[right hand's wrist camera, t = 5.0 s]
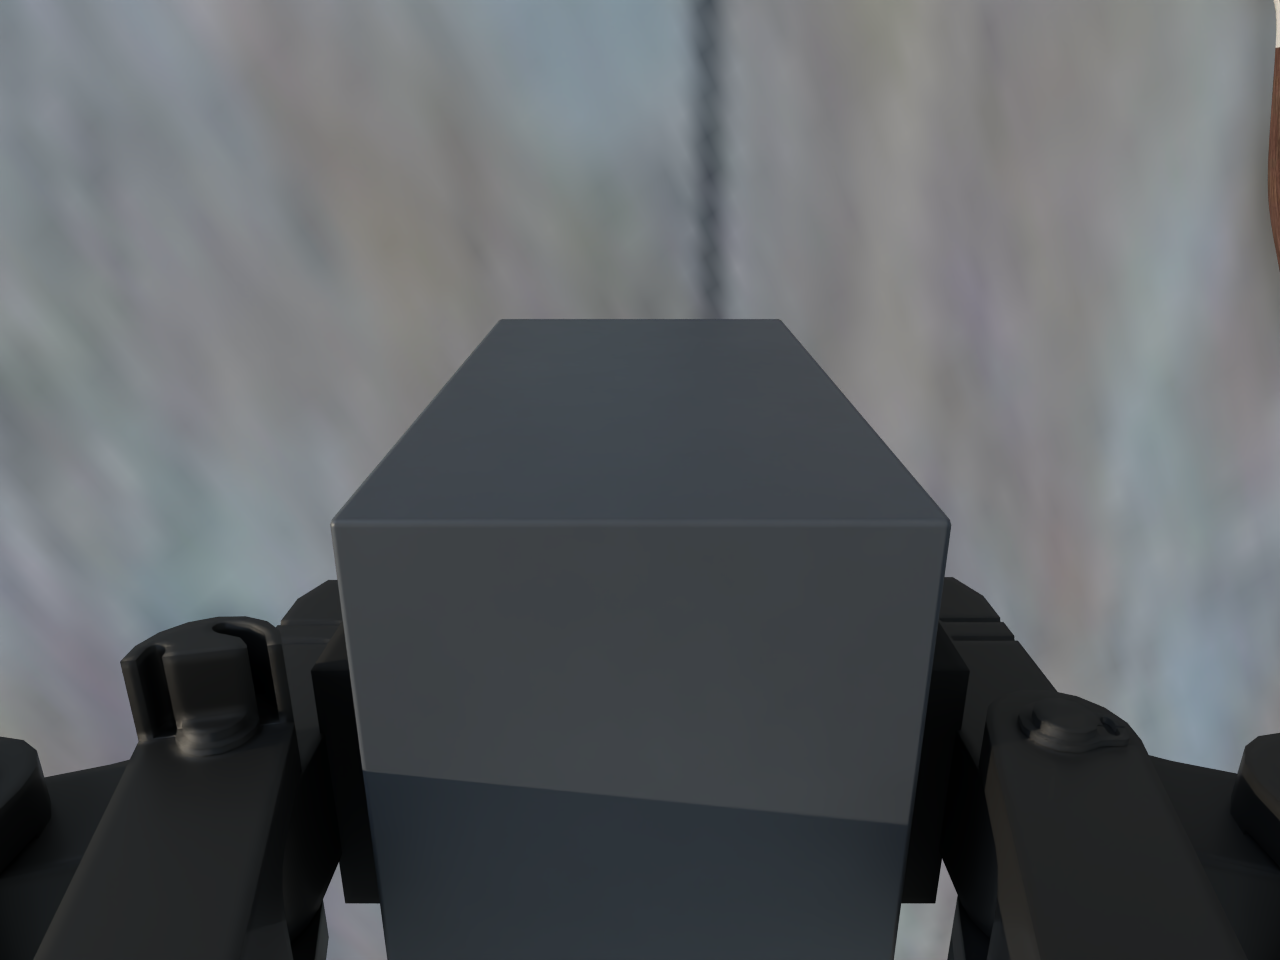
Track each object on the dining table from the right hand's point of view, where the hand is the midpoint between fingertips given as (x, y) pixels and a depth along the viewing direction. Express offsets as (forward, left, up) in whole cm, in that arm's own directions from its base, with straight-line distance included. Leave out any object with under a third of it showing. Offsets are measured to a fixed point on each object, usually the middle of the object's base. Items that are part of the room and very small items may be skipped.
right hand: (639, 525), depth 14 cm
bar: (+4, +8, -1) cm, 9 cm away
